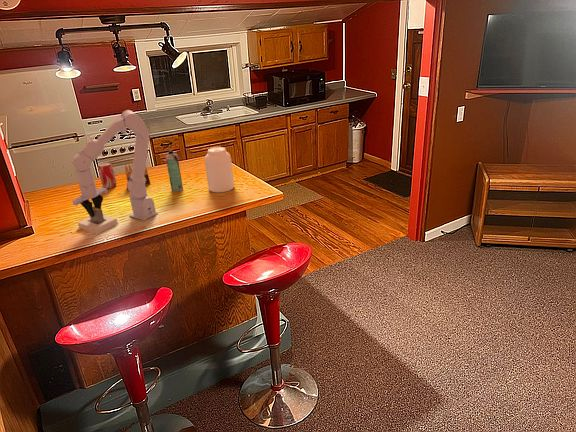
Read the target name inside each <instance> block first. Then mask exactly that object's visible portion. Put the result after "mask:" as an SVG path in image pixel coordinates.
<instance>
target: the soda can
mask: <svg viewBox="0 0 576 432" xmlns="http://www.w3.org/2000/svg"><path fill="white" fill-rule="evenodd" d="M97 165H98V167H97V168H98V169H97V170H98V175H99V179H100V182H101V186H102V188H107V189H112V188H114V187H116V185H117V179H116V174H115V171H114V166H113V165H112V164H111V162H109V161H107V162H102V163H99V164H97Z"/></svg>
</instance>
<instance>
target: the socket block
mask: <svg viewBox="0 0 576 432" xmlns="http://www.w3.org/2000/svg"><path fill="white" fill-rule="evenodd" d="M103 217H104V222H102V223H100V224H95V223H91V219H90V216H89V217H87V218H85V219H82V220H79V221H78V222H77V225H78V228H79V229H82V230H84V231H87V232H90V233H93V234H96V235H98V234H100V233H103V232H105V231H106V230H109V229H110V228H112V227H114V226H116V225H118V224H119V223H118V222H119V221H118V218H116V217H113V216H110V215H106V214H103Z"/></svg>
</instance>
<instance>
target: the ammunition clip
mask: <svg viewBox="0 0 576 432" xmlns="http://www.w3.org/2000/svg"><path fill="white" fill-rule="evenodd" d="M132 168H133V162H132V164H130V163H128V165H127V164H124V169H125V170H124V171H125V177H126V180H127V182H128V181H129V179H130V175H131V173H132ZM144 176H145V186H146V185H150V184H151V180H150V177H149V173H148V168H147V166H146V167H145V175H144Z"/></svg>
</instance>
